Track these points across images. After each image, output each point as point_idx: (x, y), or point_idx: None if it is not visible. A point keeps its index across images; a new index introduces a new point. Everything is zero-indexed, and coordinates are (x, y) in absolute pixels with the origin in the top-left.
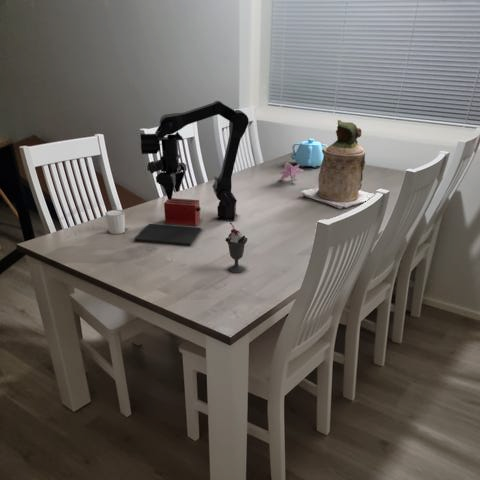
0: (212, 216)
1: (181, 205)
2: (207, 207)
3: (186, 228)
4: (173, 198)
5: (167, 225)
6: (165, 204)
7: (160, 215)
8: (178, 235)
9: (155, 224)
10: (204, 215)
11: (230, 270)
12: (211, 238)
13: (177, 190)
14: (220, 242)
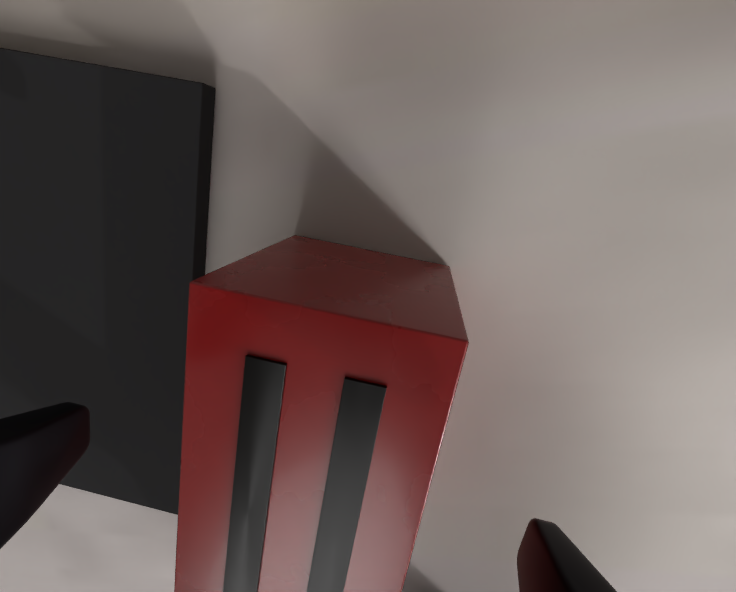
0: (476, 586)
1: (182, 505)
2: (723, 571)
3: (147, 422)
4: (439, 411)
5: (184, 271)
6: (197, 301)
7: (533, 150)
8: (8, 372)
9: (192, 153)
10: (503, 537)
11: None
12: (75, 548)
13: (523, 577)
14: (33, 585)
